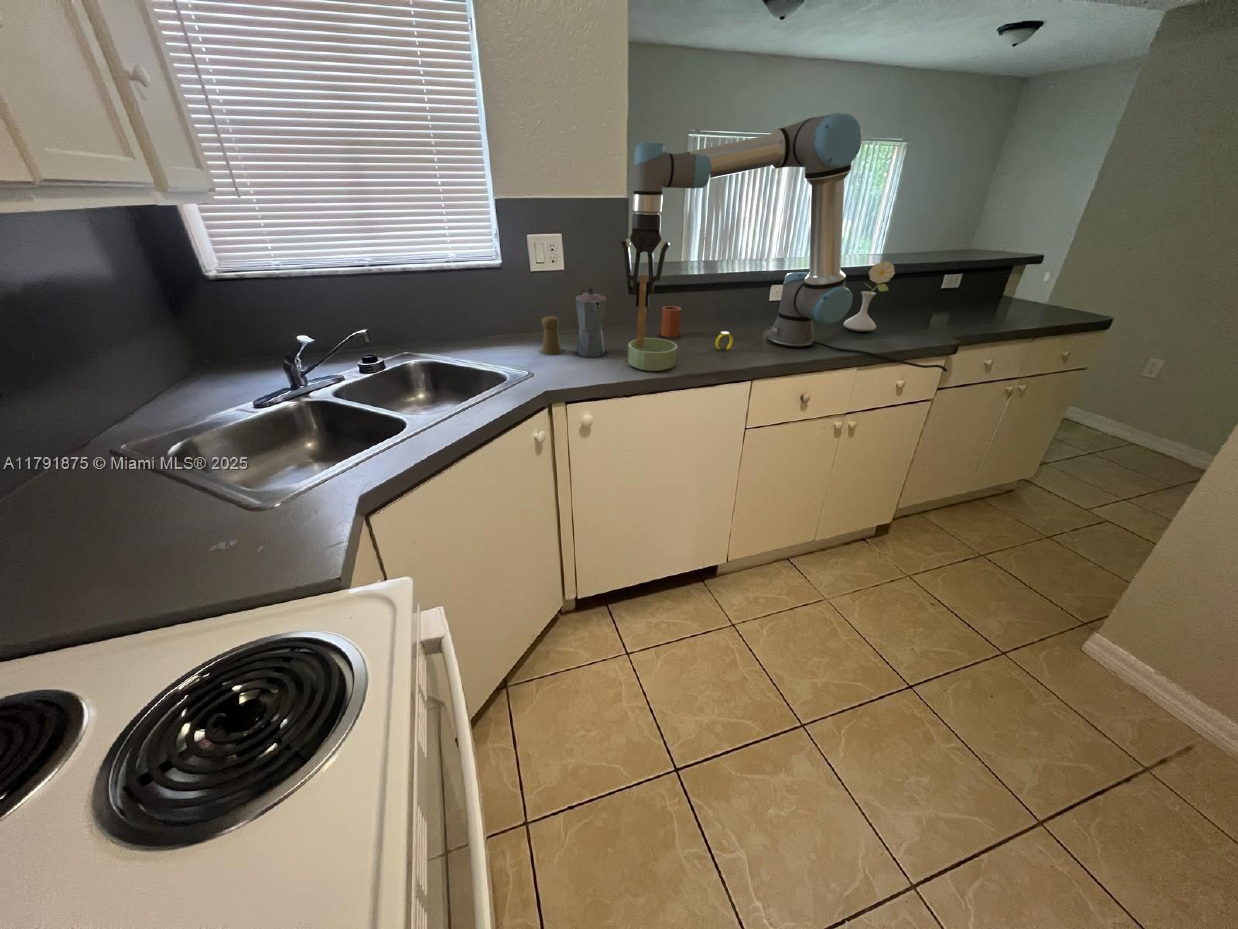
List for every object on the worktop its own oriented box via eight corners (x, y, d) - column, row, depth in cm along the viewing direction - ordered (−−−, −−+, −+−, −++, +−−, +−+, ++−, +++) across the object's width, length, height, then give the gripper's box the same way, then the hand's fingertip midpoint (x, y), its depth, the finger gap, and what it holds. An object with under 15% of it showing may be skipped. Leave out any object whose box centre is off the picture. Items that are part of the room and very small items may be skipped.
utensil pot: (679, 334, 175) (681, 306, 170) (677, 340, 170) (680, 310, 164) (661, 333, 176) (663, 305, 171) (659, 338, 171) (661, 309, 166)
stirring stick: (644, 344, 145) (648, 274, 135) (643, 346, 144) (646, 275, 134) (637, 344, 146) (641, 273, 136) (636, 346, 144) (639, 275, 134)
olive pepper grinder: (564, 349, 157) (563, 315, 152) (556, 355, 152) (554, 320, 147) (547, 347, 159) (545, 313, 153) (539, 353, 154) (536, 318, 148)
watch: (728, 348, 163) (730, 330, 160) (733, 350, 161) (735, 332, 157) (713, 350, 160) (715, 332, 157) (717, 352, 158) (720, 334, 155)
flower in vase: (836, 328, 187) (853, 258, 174) (852, 324, 193) (870, 256, 180) (868, 336, 178) (889, 264, 165) (884, 332, 184) (906, 261, 171)
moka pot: (585, 362, 148) (584, 293, 137) (566, 347, 159) (564, 284, 149) (613, 357, 152) (614, 291, 141) (593, 344, 163) (592, 281, 153)
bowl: (678, 358, 152) (679, 339, 149) (673, 374, 140) (674, 354, 137) (632, 355, 154) (632, 336, 151) (623, 370, 142) (624, 350, 139)
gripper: (676, 213, 129) (670, 304, 141) (621, 211, 131) (619, 301, 143) (674, 215, 122) (667, 310, 134) (615, 212, 125) (614, 306, 137)
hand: (642, 305), depth 139 cm, fingers closed on stirring stick, 2 cm apart
